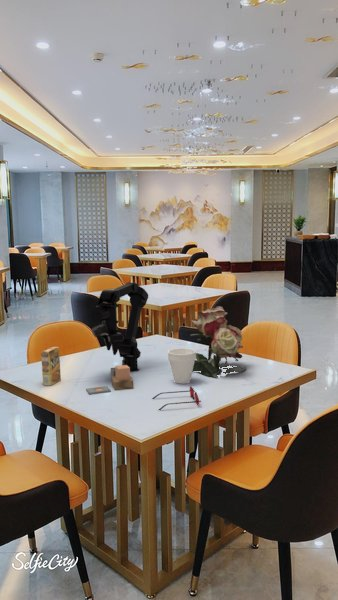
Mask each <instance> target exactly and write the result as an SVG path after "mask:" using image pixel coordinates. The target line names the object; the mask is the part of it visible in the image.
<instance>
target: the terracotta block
mask: <svg viewBox="0 0 338 600" xmlns="http://www.w3.org/2000/svg"><path fill="white" fill-rule="evenodd" d="M114 368H115V373H116V378H117V379H118V380H119V381H120V380H129V379H130V376H131V371H130V367H128V366H127V365H122V364H121V365H115V367H114Z"/></svg>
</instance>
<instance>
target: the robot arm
mask: <svg viewBox="0 0 338 600" xmlns="http://www.w3.org/2000/svg"><path fill="white" fill-rule="evenodd" d="M124 296H128V298H129V303H130V307H131V309H130V313H129V318H128V321H127V326H126V331H125V335H124V334H123V333H121V332H119V329H118V324H119V320H118V317H117V316H118V315H117V308H119V307H120V306H119V304H117V303H118V302H119V301H120V300H121V298H123V297H124ZM148 299H149V294H148V291H146V290H145V288H143V287H142V286H140V285H139V284H138V283H137V282H127V283H125V284H123V285H121V286H118V287H116V288H114V289H103V290H102V291H101V293H100V294H99V298H98V300H97V302H96V303H97V304H96V306H94V309H93V310H92V311H91V314H90V317H91V319H92V321H93V322H94V323H101V324H98V325H96V326H94V327H92V328H91V329H90V330H91V332H92V335H93V336H94V337H95V338H97V337H99V336H100V337H102V338H103V341H104V343H105V344H104V345H105V346H106V350H107V351H110V350H112V354H113V356H116V355H117V353H118V354H119V357H120V358H122V360H121V366H122V365H127V366H128V367H130V372H134V371H135V372H136V371H139V370H140V369H139V368H138V359H139V358H140V357H141V354H142V352H141V351H140V349H139V348H138V342H137V338H136V336H137V334H138V333H137V332H138V327H139V324H140V318H141V313H142V309H143V308H144V307H145V306H146V305H147V302H148Z"/></svg>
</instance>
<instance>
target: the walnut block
mask: <svg viewBox="0 0 338 600" xmlns="http://www.w3.org/2000/svg"><path fill="white" fill-rule="evenodd" d="M111 387H112V388H113V390H114V391H121V390H122V391H123V390H131V389H132V390H133V389H134V378H132V376H131V375H130V379H129V380H120V381H119V380H118V379H117V378H116V376H113V377H112V379H111Z"/></svg>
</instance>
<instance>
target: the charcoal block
mask: <svg viewBox="0 0 338 600" xmlns="http://www.w3.org/2000/svg"><path fill="white" fill-rule="evenodd" d="M113 376H116V373H115V367H110V379H111V380H112V377H113Z"/></svg>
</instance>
